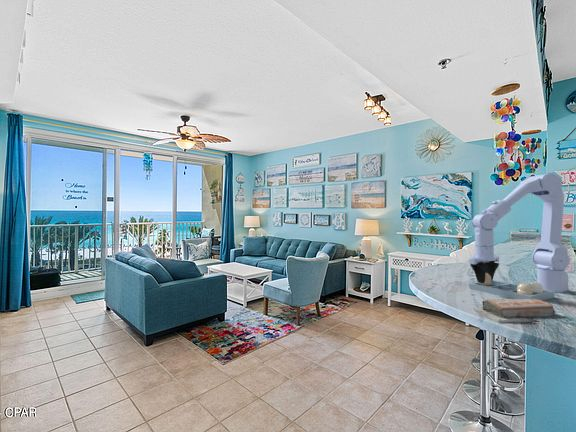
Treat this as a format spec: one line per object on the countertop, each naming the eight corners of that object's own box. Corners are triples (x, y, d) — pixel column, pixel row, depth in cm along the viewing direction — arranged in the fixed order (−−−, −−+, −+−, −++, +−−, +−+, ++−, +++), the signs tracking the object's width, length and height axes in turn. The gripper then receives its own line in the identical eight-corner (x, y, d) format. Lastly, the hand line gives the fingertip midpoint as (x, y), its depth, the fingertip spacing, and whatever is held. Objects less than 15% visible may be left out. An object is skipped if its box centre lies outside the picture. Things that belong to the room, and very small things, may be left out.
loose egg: (482, 284, 109) (482, 271, 109) (493, 286, 105) (493, 273, 105) (476, 285, 107) (475, 272, 108) (487, 287, 104) (486, 273, 104)
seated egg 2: (531, 294, 100) (531, 279, 100) (545, 296, 96) (545, 282, 96) (525, 295, 98) (524, 281, 98) (539, 298, 95) (538, 283, 95)
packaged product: (530, 295, 87) (563, 305, 77) (530, 311, 87) (563, 323, 77) (472, 296, 86) (498, 306, 76) (473, 312, 86) (498, 324, 76)
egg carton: (491, 287, 114) (491, 279, 114) (554, 300, 95) (554, 291, 95) (469, 291, 108) (469, 283, 108) (531, 305, 90) (530, 296, 90)
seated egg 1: (521, 296, 97) (520, 281, 97) (535, 299, 94) (534, 284, 94) (514, 297, 96) (513, 282, 96) (528, 300, 92) (527, 285, 92)
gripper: (485, 244, 113) (486, 278, 113) (461, 245, 107) (461, 281, 107) (505, 245, 107) (505, 281, 107) (480, 247, 101) (480, 285, 101)
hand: (484, 282), depth 106 cm, fingers closed on loose egg, 4 cm apart
